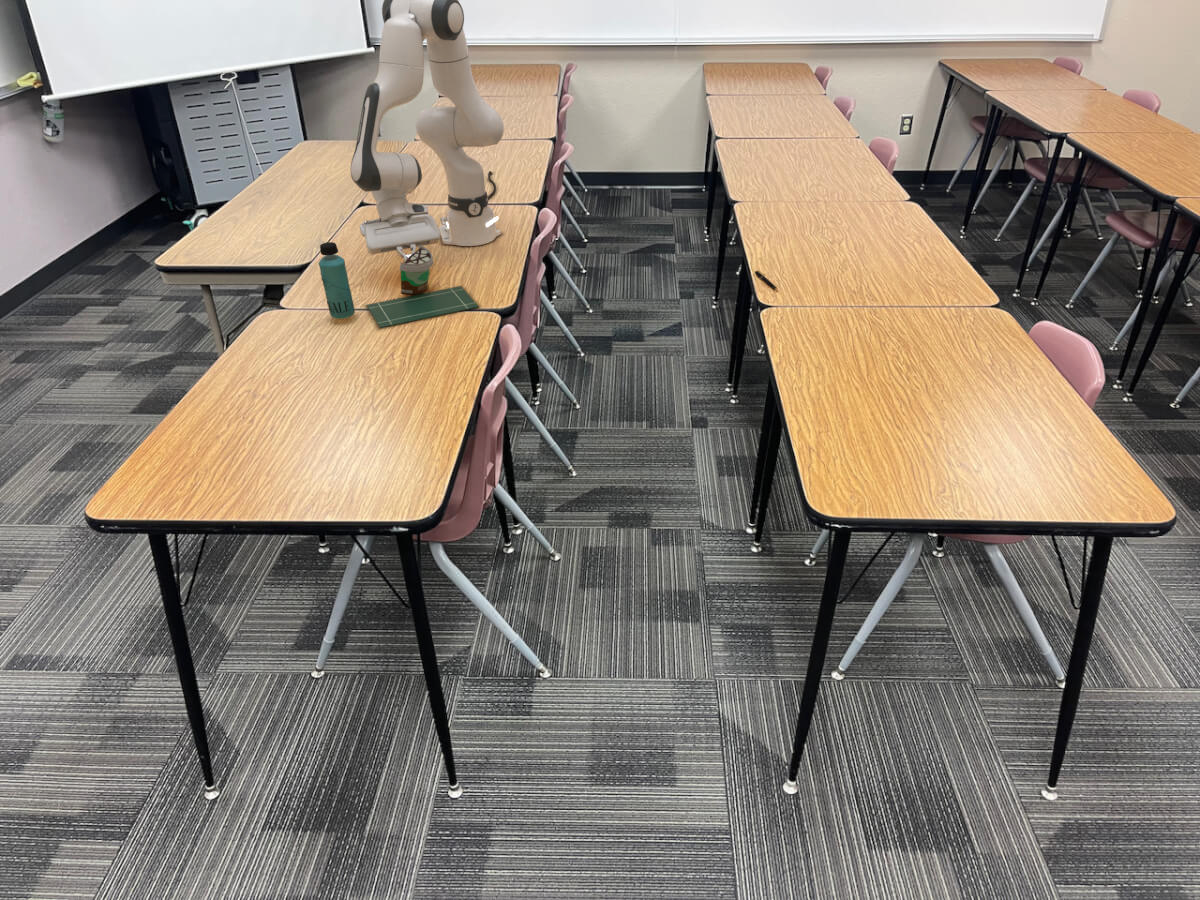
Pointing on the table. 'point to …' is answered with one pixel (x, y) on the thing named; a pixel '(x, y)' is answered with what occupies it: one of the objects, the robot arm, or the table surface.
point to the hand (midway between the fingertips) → (410, 261)
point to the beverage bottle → (335, 282)
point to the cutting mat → (421, 306)
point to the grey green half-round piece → (416, 272)
